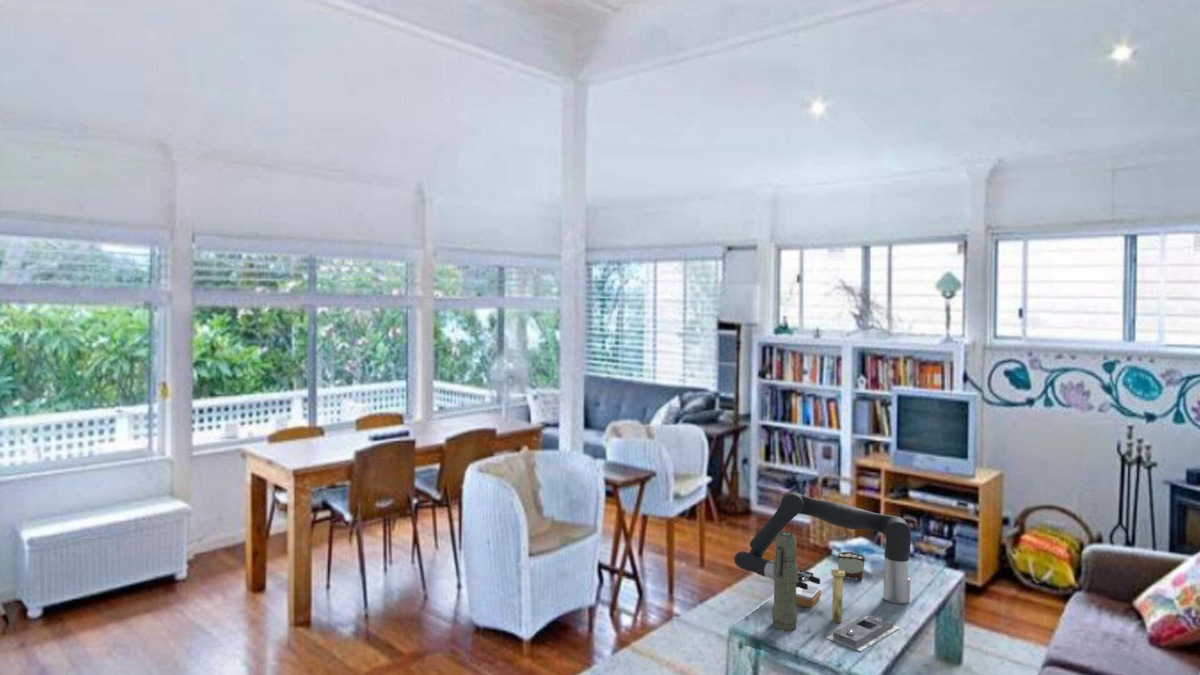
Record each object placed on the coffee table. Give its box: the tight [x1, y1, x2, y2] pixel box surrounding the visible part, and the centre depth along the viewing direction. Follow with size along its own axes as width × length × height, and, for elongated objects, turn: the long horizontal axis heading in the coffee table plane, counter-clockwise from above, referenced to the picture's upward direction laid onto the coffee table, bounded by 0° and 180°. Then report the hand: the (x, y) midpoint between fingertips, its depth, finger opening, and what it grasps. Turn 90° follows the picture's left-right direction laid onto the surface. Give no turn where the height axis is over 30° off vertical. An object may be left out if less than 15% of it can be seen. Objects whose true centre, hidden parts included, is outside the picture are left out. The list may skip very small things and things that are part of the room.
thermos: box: [771, 531, 799, 632], centre depth 271 cm, size 9×12×35 cm
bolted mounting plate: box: [826, 614, 900, 653], centre depth 266 cm, size 28×13×4 cm, turn 131°
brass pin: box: [830, 568, 845, 624], centre depth 276 cm, size 5×5×19 cm
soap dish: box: [796, 584, 823, 609], centre depth 294 cm, size 12×10×5 cm
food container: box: [836, 551, 867, 580], centre depth 322 cm, size 12×6×10 cm, turn 71°
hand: (813, 584), depth 284 cm, fingers open, 8 cm apart
